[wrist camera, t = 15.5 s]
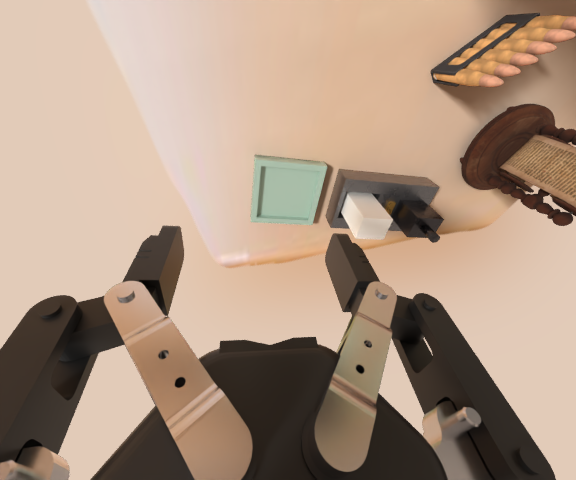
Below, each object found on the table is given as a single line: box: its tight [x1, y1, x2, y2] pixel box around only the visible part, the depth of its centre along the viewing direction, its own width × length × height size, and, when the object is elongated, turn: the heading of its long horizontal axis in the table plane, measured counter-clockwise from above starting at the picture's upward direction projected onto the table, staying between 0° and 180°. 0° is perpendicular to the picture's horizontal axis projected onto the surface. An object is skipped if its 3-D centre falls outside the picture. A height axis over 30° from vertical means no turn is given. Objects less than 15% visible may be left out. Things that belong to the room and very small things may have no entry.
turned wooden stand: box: [460, 104, 576, 226], centre depth 38 cm, size 15×15×20 cm
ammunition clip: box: [431, 13, 576, 87], centre depth 30 cm, size 11×2×12 cm, turn 125°
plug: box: [340, 191, 393, 240], centre depth 43 cm, size 4×5×10 cm
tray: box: [251, 155, 327, 225], centre depth 44 cm, size 12×12×2 cm
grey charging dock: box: [326, 169, 444, 242], centre depth 44 cm, size 10×18×13 cm, turn 81°
